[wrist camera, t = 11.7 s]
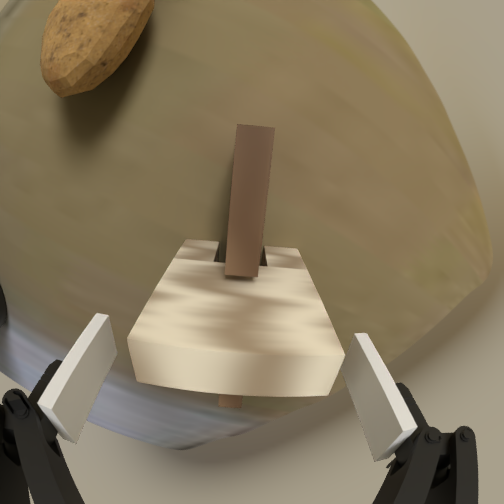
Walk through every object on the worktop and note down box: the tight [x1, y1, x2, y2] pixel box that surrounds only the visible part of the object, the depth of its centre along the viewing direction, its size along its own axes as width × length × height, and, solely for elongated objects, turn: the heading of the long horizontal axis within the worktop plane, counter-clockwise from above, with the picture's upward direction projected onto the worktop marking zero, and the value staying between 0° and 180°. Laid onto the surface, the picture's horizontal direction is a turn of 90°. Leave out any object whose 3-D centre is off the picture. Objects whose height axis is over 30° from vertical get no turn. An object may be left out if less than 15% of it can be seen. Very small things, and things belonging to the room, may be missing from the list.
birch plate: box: [127, 239, 345, 397], centre depth 18 cm, size 10×3×14 cm, turn 84°
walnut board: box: [219, 124, 275, 408], centre depth 21 cm, size 2×22×8 cm, turn 174°
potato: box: [40, 0, 155, 98], centre depth 13 cm, size 10×14×8 cm
